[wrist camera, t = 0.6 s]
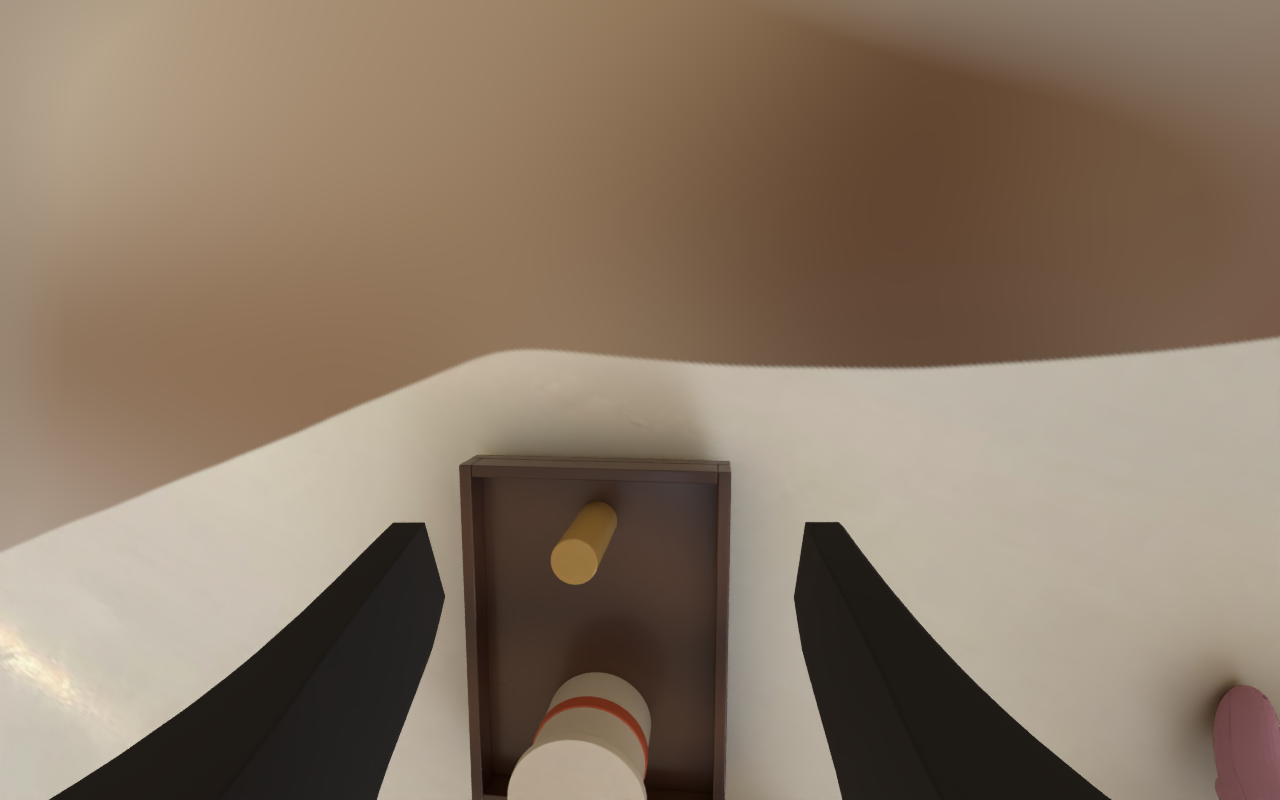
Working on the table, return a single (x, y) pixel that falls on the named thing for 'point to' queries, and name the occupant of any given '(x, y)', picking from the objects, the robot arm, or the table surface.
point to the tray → (598, 605)
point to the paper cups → (587, 744)
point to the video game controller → (1246, 746)
